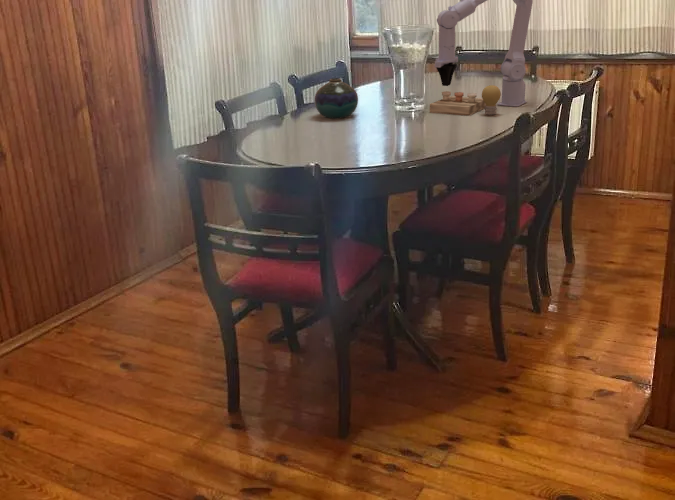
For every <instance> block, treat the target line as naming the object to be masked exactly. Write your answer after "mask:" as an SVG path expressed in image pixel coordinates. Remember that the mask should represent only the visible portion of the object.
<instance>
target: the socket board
mask: <svg viewBox="0 0 675 500" xmlns="http://www.w3.org/2000/svg"><path fill="white" fill-rule="evenodd" d="M468 98H469V97H465V96H462V101H460V102H458V101H455V100H456V96H454V95H453V96H451V95H450V100H447V101H444V100H443V98H442V99H439V100H436V101H435V102H432V103H429V113H431V114H432V113H433V114H443V115H445V114H446V115H453V116H454V115H455V116H456V115H458V116H466V117H469V116H471V115H473V114H475V113H478V112H480V111H482V110H484V109H485V106H486V104H485V102H484V101H483V99H482V97H480V98H479V97H475V102H472V103H471V102H468Z"/></svg>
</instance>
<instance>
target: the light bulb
mask: <svg viewBox="0 0 675 500" xmlns="http://www.w3.org/2000/svg"><path fill="white" fill-rule="evenodd" d="M501 97H502V91H501V89H500V88H499V87H498V86H496V85H493V84H491V85H487V86H485V87H484V88H483V89H482V92H481V98H482V99H483V101H484V102H485V104H486V106H485V110H484V111H485V112H484V113H485V115H487V116H494V115H496V114H497V104H498V103H499V101H500V99H501Z"/></svg>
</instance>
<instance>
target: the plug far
mask: <svg viewBox="0 0 675 500" xmlns="http://www.w3.org/2000/svg"><path fill="white" fill-rule="evenodd" d="M451 93H452V92H451V91H447V90H446V91H444V90H443V91H441V96H442V99H443V100H444V101H447V100H450V96H451Z"/></svg>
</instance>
